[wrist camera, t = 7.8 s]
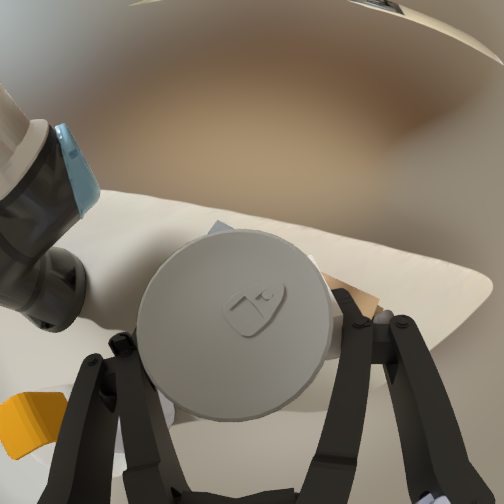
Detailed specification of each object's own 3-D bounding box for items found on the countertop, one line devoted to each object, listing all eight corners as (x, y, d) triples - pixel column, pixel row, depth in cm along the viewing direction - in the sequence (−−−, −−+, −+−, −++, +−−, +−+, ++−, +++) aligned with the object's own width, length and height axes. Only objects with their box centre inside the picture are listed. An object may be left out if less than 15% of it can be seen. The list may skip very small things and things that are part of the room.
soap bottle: (110, 397, 32) (-30, 400, 10) (149, 364, 34) (3, 347, 11) (146, 445, 29) (18, 497, 7) (189, 415, 31) (62, 470, 8)
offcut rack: (285, 300, 36) (286, 286, 29) (303, 269, 37) (308, 249, 31) (365, 344, 32) (384, 340, 26) (381, 311, 34) (401, 300, 27)
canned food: (324, 322, 20) (369, 285, 10) (267, 409, 18) (255, 461, 8) (241, 272, 22) (210, 196, 12) (184, 354, 20) (103, 344, 10)
